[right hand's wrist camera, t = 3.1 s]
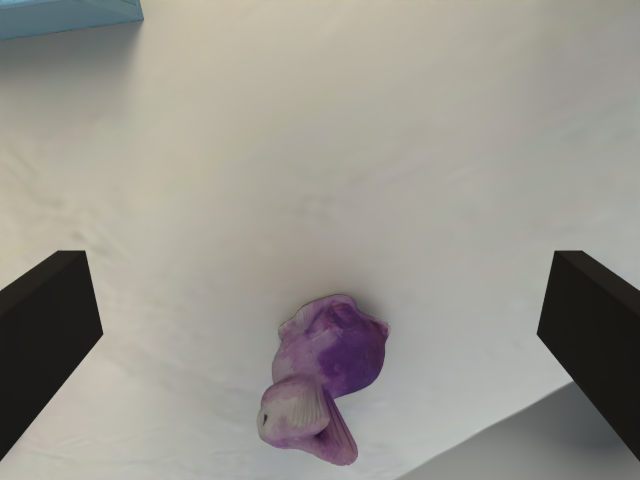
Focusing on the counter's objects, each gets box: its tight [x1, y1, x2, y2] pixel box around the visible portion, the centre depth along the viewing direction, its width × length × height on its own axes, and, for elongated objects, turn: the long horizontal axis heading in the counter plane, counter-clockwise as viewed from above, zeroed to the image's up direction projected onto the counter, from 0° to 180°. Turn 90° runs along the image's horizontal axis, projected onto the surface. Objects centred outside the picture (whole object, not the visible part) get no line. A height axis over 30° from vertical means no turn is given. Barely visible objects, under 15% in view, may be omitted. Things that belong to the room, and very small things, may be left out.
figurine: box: [257, 295, 390, 466], centre depth 36 cm, size 9×10×15 cm
